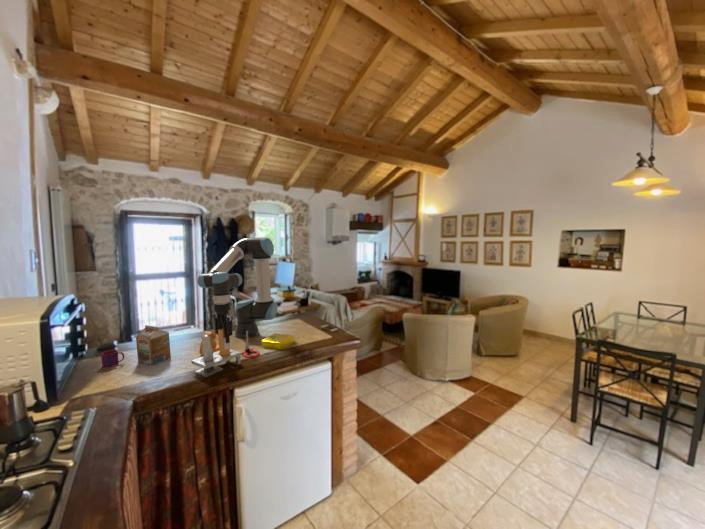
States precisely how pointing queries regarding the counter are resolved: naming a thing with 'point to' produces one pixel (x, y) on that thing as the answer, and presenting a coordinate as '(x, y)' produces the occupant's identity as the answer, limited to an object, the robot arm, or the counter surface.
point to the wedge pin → (222, 343)
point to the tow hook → (249, 349)
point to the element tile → (278, 341)
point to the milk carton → (152, 346)
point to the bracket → (214, 345)
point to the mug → (110, 358)
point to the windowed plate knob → (212, 358)
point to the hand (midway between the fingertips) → (224, 348)
